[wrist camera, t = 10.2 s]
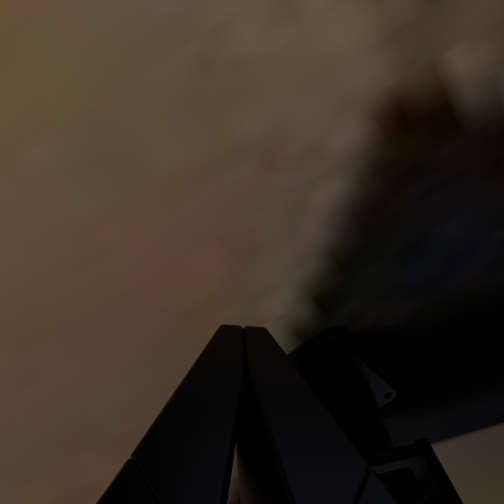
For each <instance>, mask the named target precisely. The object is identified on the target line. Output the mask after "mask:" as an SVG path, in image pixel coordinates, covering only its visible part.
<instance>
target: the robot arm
mask: <svg viewBox="0 0 504 504" xmlns="http://www.w3.org/2000/svg"><path fill="white" fill-rule="evenodd" d="M328 339H331V341H329V342H325V341H326V340H328ZM387 392H388V393H387ZM395 397H396V391H395V389H394V387H393V386H392V385H391V384H390V383H389V382H388V381H387V380H386V379H385V378H383V377H382V376H381V375H380V374H379V373H378V372H377V371H376V370H375V369H374V368H372V367H371V366H370V365H369V364H368V363H367V362H366V361H365V360H364V359H363V358H361V357H360V356H359V355H358V354H357V353H356V352H355V351H354V350H353V349H352V348H350V347H349V346H348V345H347V344H346V343H345V342H344V341H343V340H342V339H341V338H339V337H338V336H337V335H336V334H335V333H334V332H332V331H325V332H323V333H321V334H320V335H318V336H317V337H316V338H314V339H313V340H311V341H310V342H309V343H307V344H306V345H305V346H303V347H302V348H300V349H299V350H298V351H296V352H294V353H293V354H292V355H290V356H289V357H288V356H287V355H286V354H285V352H284V351H283V350H282V348H281V347H280V346H279V344H278V343H277V342H276V341H275V339H274V338H273V337H272V335H271V334H270V333H269V331H268V330H267V329H266V328H264V327H255V326H245V327H244V328H242V327H241V326H239V325H226V324H223V325H221V326H220V327H219V328H218V329H217V331H216V332H215V334H214V335H213V337H212V338H211V340H210V341H209V342H208V344H207V345H206V347H205V348H204V350H203V351H202V353H201V354H200V356H199V357H198V358H197V360H196V361H195V363H194V364H193V366H192V367H191V369H190V370H189V371H188V373H187V374H186V376H185V377H184V379H183V380H182V382H181V383H180V384H179V386H178V387H177V389H176V390H175V392H174V393H173V395H172V396H171V398H170V399H169V400H168V402H167V403H166V405H165V406H164V408H163V409H162V411H161V412H160V413H159V415H158V416H157V418H156V419H155V421H154V422H153V424H152V425H151V427H150V428H149V429H148V431H147V432H146V434H145V435H144V437H143V438H142V440H141V441H140V442H139V444H138V445H137V447H136V448H135V450H134V451H133V453H132V454H131V459H128V460H127V461H126V462H125V464H124V465H123V467H122V468H121V470H120V471H119V472H118V474H117V475H116V477H115V478H114V480H113V481H112V483H111V484H110V485H109V487H108V488H107V489H106V491H105V492H104V493H103V495H102V496H101V497H100V499H99V500H98V501H97V503H96V504H227V499H228V493H229V486H230V480H231V473H232V467H233V460H234V453H235V446H236V455H237V468H238V479H239V490H240V498H239V500H238V503H237V504H463V503H462V501H461V499H460V497H459V495H458V493H457V492H456V490H455V488H454V486H453V485H452V483H451V481H450V479H449V477H448V476H447V474H446V472H445V470H444V468H443V467H442V465H441V463H440V461H439V460H438V458H437V456H436V454H435V452H434V450H433V449H432V447H431V445H430V443H429V441H428V440H427V438H424V439H420V440H416V441H415V443H413V444H409V445H405V446H401V447H397V448H394V446H393V444H392V441H391V438H390V436H389V433H388V430H387V428H386V425H385V422H384V420H383V417H382V414H381V412H380V409H379V408H380V407H382V406H384V405H385V404H387V403H388V402H390V401H392V400H393V399H394V398H395Z"/></svg>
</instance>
